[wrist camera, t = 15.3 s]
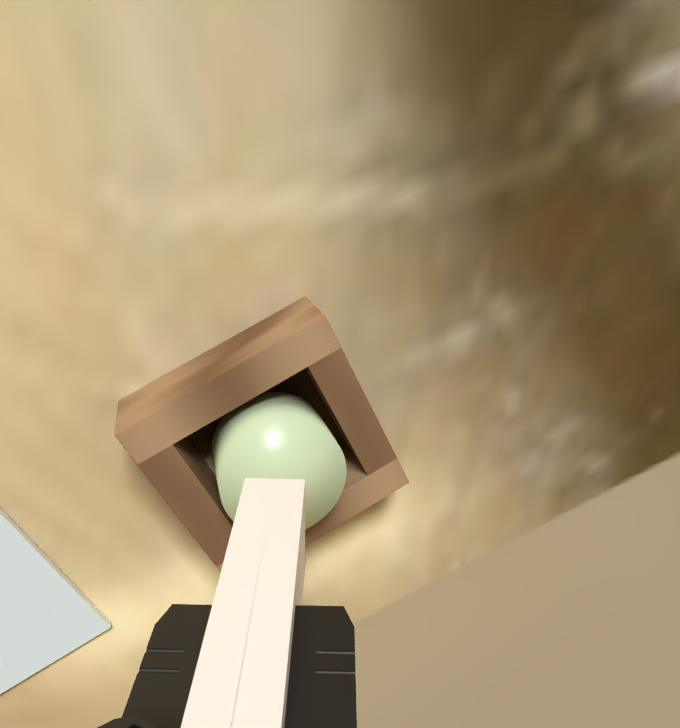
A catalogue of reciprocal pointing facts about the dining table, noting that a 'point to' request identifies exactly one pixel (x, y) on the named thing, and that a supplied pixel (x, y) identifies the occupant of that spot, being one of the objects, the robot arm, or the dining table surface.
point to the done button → (278, 452)
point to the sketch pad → (37, 609)
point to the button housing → (237, 386)
